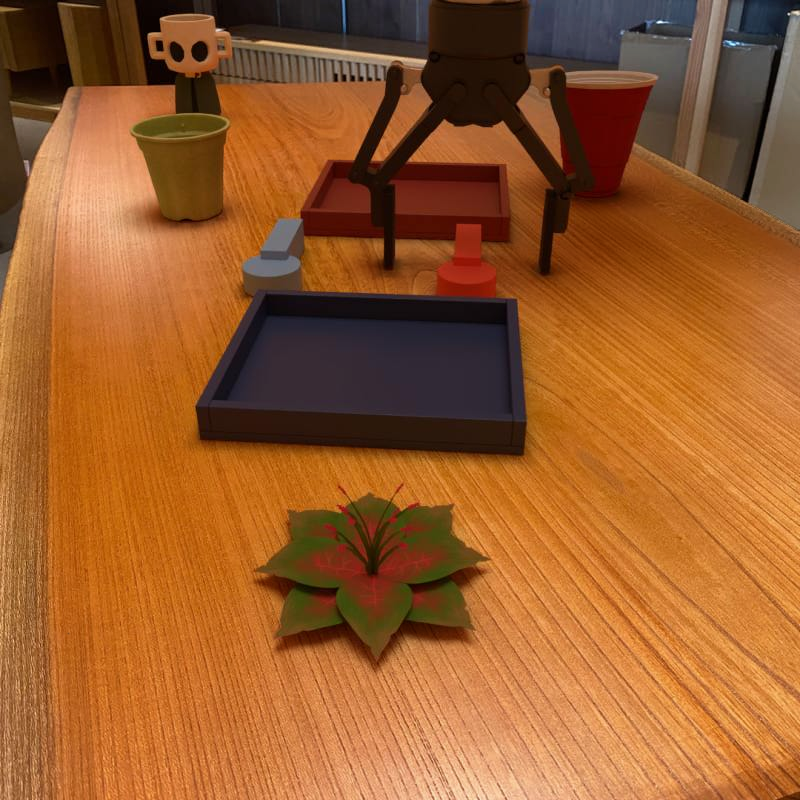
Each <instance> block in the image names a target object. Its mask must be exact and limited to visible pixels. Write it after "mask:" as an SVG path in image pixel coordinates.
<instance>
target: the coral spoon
mask: <svg viewBox="0 0 800 800" xmlns="http://www.w3.org/2000/svg"><path fill="white" fill-rule="evenodd" d="M497 276H498V273H497V270H496V268H495V267H494V266H492V265H491V264H489V263H487V262H484V261H482V240H481V224H457V225H456V238H455V240H454V252H453V260H451V261H447V262H444V263H442V264H441V265H440V266H438V268H437V270H436V296H462V297H490V298H496V289H497Z"/></svg>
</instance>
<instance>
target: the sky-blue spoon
mask: <svg viewBox="0 0 800 800" xmlns="http://www.w3.org/2000/svg"><path fill="white" fill-rule="evenodd" d="M305 248H306V245H305V235H304V229H303V219H301V218H281V217H280V218H278V220H277V221H276V222H275V224H274V226H273V228H272V230H271V231H270V233H269V235H268V236H267V238H266V240H265V242H264V243H263V245H262V246H261V248H260V250H259V251H260V252H259V253H260V254H258V255H255V256H252V257H249V258H248V259H246V260H245V261H244V262H243V263H242V265H241V273H242V281H243V283H242V284H243V289H244V291H245V293H246V294H247V295H248V296H251V297H253V298H254V296H255V294H256V292H257V290H258V289H267V290H269V289H270V290H297V291H301V290H302V287H303V277H302V262H301V260H300V259H301V257H302V255H303V253H304V250H305Z"/></svg>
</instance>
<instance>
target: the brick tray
mask: <svg viewBox="0 0 800 800" xmlns="http://www.w3.org/2000/svg"><path fill="white" fill-rule="evenodd" d="M354 160H355V159H327V160H326V162H325V164H324V166H323V168H322V170H321V171H320V173H319V175H318V177H317V179H316V181H315V183H314V184H313V186H312V188H311V190H310V192H309V193H308V195H307V197H306V199H305V201H304V203H303V205H302V207H301V208H300V211H299V214H300V219H303V229H304V236H327V237H355V238H356V237H357V238H359V237H360V238H361V237H362V238H384V227H373V225H372V223H371V198H370V191H369V189H368V188H367V187H366V186H364V185H361V184H353V183H351V182H350V181H349V179H348V173H349V171H350V169H351V167H352V164H353V162H354ZM383 161H384V160H371V162H370V164H369V167H371V168H374V169H377V168H378V167H379V166H380V164H381V163H382V162H383ZM507 168H508V167H507V164H506V163H482V162H481V163H480V162H445V161H444V162H443V161H442V162H440V161H407V162H406V163H405V164H404V166H403V167H402V168H401V169H400V170H399V171H398V173H397V174H396V175H395V176H394V177H393V178H392V179H391V181H390V182H389V183H388V184H395V239H424V240H427V239H428V240H452V241H453V240H454V241H455V238H456V225H457V224H481V241H482V242H483V241H486V242H488V241H489V242H509V241H510V230H511V218H512V217H511V205H510V194H509V193H510V192H509V180H508V179H509V178H508V169H507Z"/></svg>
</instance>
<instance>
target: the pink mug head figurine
mask: <svg viewBox="0 0 800 800" xmlns="http://www.w3.org/2000/svg"><path fill="white" fill-rule="evenodd" d="M159 24H160V32H149V33H147V43H148V44H147V45H148V51H149V56H150V58H151V59H153V60H164V62H165V64H166V66H167V68H168V70H170V71H173V72H177V74H176V76H175V80H174V106H175V107H174V108H175V109H174V110H175V114H184V113H201V114H211V115H216V116H221V114H222V111H223V110H222V106H221V101H220V97H219V93H218V89H217V85H216V81H215V78H214V76H213V75H212V73H211V72H210V71H212V70H214V69H216V68H217V67H219V63H220V59H229V58H232V57H233V53H234V52H233V44H232V35H231V33H230V32H229V31H224V30H223V31H217V29H216V20H215V17H214V16H213V15H209V14H202V13H198V14H197V13H182V14H181V13H179V14H172V15H171V14H170V15H166V16H162V17H160V18H159ZM218 40H223V45H224V50H222V49H221V50H219V49H218V48H219V47H218ZM157 41H162V46H163V50H162V51H158V49H157V44H156V43H157Z"/></svg>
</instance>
